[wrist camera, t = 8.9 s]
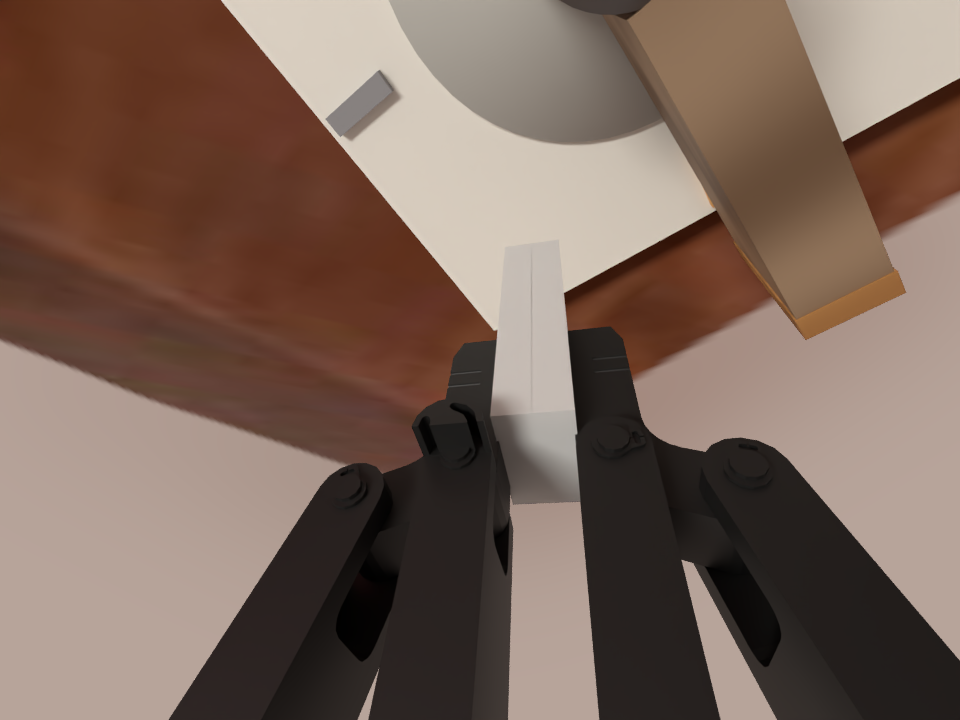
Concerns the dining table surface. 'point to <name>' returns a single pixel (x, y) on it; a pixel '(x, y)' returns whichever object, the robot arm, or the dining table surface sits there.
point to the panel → (551, 115)
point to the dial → (761, 148)
